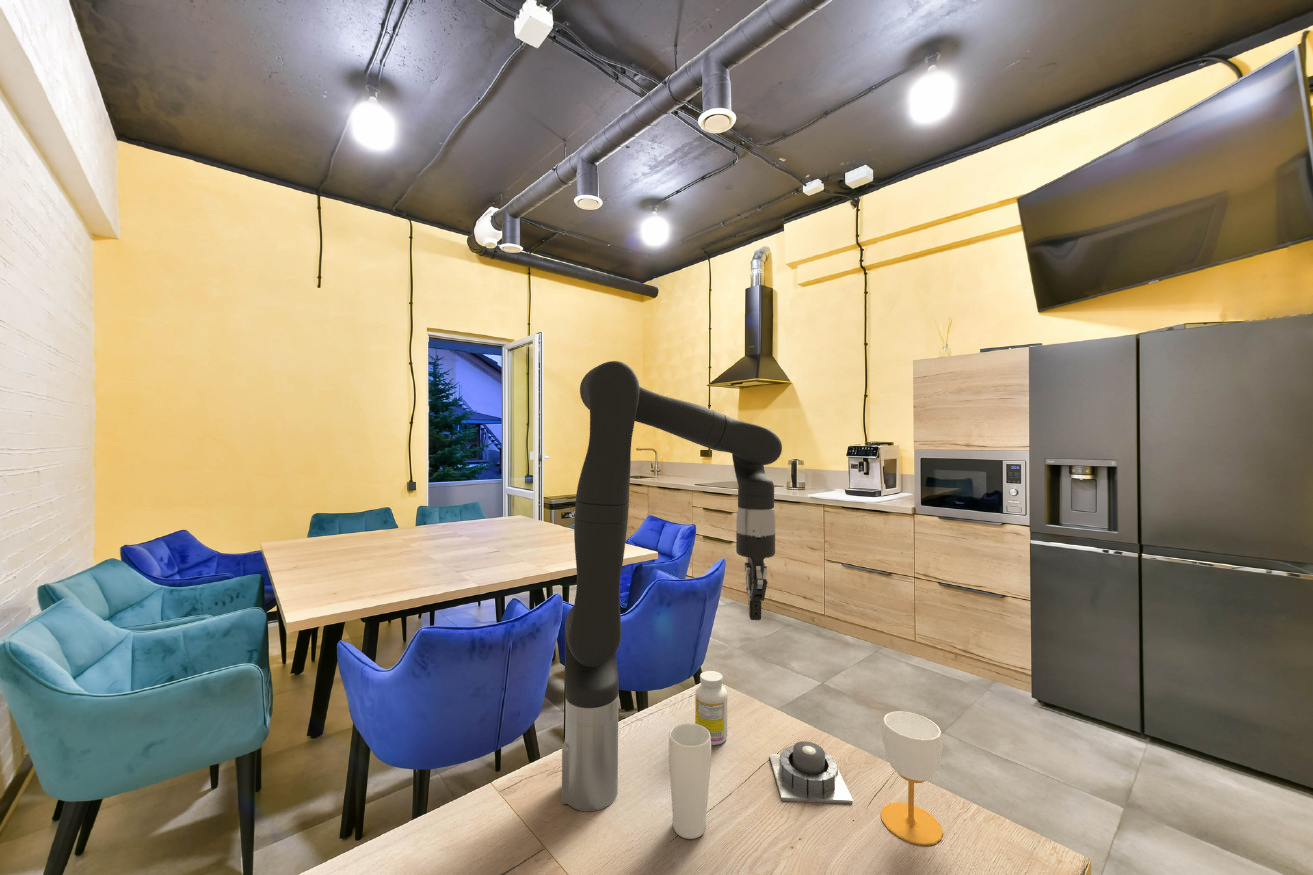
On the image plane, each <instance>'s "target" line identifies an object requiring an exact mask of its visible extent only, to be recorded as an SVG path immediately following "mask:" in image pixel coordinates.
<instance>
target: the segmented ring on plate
mask: <svg viewBox="0 0 1313 875" xmlns="http://www.w3.org/2000/svg"><path fill="white" fill-rule="evenodd" d="M793 746H794V745H792V746H789V747H786V748H784V749H783V750H782V751H781V753H780V754H779V753H769V755H768V756H769V762H770V764H771V767H772V772H773V774H774V778H775V783H776V786H777V789H778V792H779V797H780V799H781V802H799V803H800V802H802V803H803V802H804V803H825V804H826V803H827V804H828V803H829V804H847V805H848V804H851V805H852V804H853V798H852V796H851V794H850V792H849V790H848V787H847V785H846V783H845V781H844V779H843V778H842V775H841V773H840V771H839V766H838V764H837V763H836V760H835V758H834V757H833V756H832V755H830V754H828V753H827V752H826V751H824V752H825V772H824V773H822V774H819V775H811V774H806V773H803V772H800V771H797V770H796V769H795V768H794V767H793Z"/></svg>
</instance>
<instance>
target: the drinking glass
mask: <svg viewBox="0 0 1313 875" xmlns="http://www.w3.org/2000/svg"><path fill="white" fill-rule="evenodd" d="M668 736H669V738H668V768H669V769H668V770H669V781H670V792H671V793H670V794H671V809H672V811H671V812H672V828H673V830H674V832H675V833H676V834H677V835H678V836H679V837H681V838H683V839H687V840H694V839H695V840H696V839H698V838H699V837H701V836H702V835H703V834H704V833H705V831H706V828H707V810H708V800H709V788H710V778H711V777H710V776H711V765H712V745H711V735H710V732H709V731H708V730H707V729H706V728H705V727H703V726H701V725H698V724H695V723H693V722H688V723H687V722H686V723H685V722H684V723H679V724H677V725H675V726H674V727H672V729H670V731H669V735H668Z"/></svg>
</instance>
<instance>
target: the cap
mask: <svg viewBox="0 0 1313 875" xmlns="http://www.w3.org/2000/svg"><path fill="white" fill-rule="evenodd" d="M792 746H793V767H794V768H795V769H796V770H797V771H800V772H803V773H806V774H811V775H819V774H822V773H824V772H825V752H826V751H825V749H823V747H821V746H820V745H819V744H816V743H814V742H811V741H807V740H806V741H802V740H801V741H797V742H796V743H794V744H793V745H792Z"/></svg>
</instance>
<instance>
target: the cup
mask: <svg viewBox="0 0 1313 875" xmlns="http://www.w3.org/2000/svg"><path fill="white" fill-rule="evenodd" d="M882 720H883V721H882V725H881V736H882V737H881V738H882V744H883V747H884V751H885V755H886V758H887V760H888V763H889V764H890V765H889V766H890V767H891V768H892V769H893V770H894V772H895V773H897V774H898V776H899V777H900V778H901V779H903V780H905V781H906V782H908V789H907V790H908V794H907V800H908V801H907V803H906V802H902V801H901V802H900V801H899V802H890V803H888V804H886V805H883V807H882V809H881V811H880V813H879V814H880V818H881V822H882V824H884V826H885V827H886V829H887V830H889V831H890V832H891V833H892V834H893V835H895V836H896V837H897V838H898V839H901V840H903V841H905V842H908V843H910V844H915V845H918V846H934V845H936V844H937V843H939V842H940V841H942V837H943V835H944V831H943V829H942V826H941V823H940V822H939V821H938V820H937V819H936V818H935V817H934V815H932V814H930V813H929V812H928V811H926V810H925V809H923V808H921V807H919V806H916V805H915V784H923V782H927V781H929V780H930V779H932V778H933V777H934V776H935V774H936V773H937V771H938V768H939V765H940V762H941V759H942V756H943V748H944V747H943V745H944V742H943V735H942V731H941V729H940V727H939V725H937V724H936V723H935V722H934V721H933V720H931V719H929V718H927V717H925V716H923V715H921V714H919V713H918V714H917V713H914V712H910V711H902V710H900V711H897V710H896V711H890V712H888V713H886V714H885V715H884V716H883V719H882Z"/></svg>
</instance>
